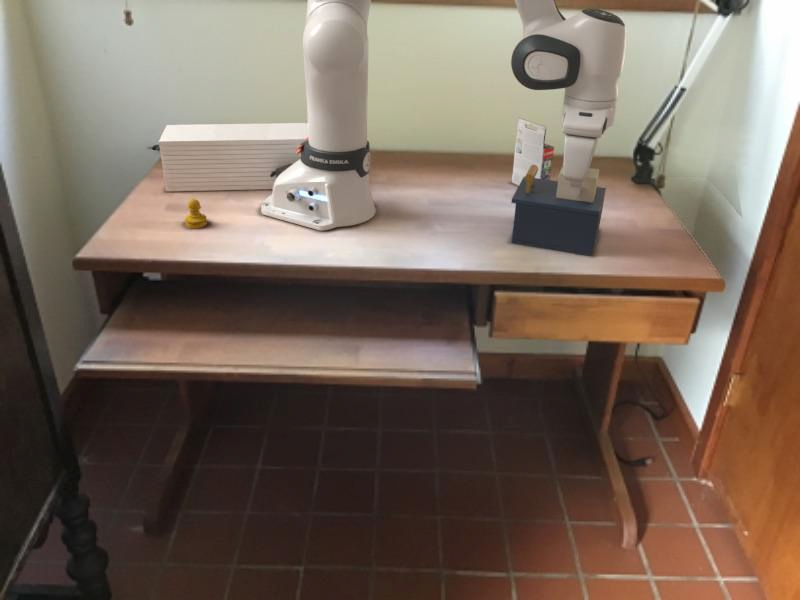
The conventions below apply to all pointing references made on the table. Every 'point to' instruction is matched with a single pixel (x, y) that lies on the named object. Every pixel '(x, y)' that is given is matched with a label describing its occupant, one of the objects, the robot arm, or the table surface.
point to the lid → (553, 195)
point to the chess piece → (195, 215)
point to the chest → (556, 229)
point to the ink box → (531, 152)
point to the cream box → (586, 188)
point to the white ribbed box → (228, 155)
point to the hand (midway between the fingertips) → (577, 187)
